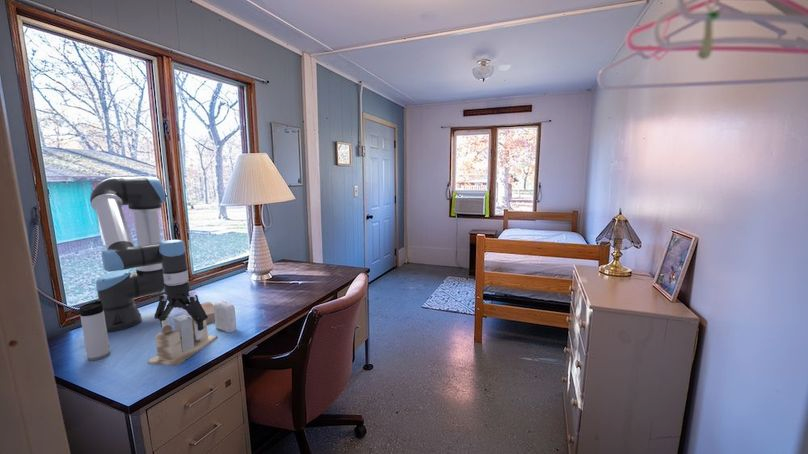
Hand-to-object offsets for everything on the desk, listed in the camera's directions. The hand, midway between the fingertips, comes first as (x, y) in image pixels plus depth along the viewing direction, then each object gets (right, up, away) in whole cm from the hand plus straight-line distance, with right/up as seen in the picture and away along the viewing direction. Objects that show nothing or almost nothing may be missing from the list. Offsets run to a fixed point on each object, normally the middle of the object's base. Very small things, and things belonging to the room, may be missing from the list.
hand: (183, 337), depth 127 cm
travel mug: (-29, -6, -3) cm, 30 cm away
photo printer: (+7, -2, +18) cm, 19 cm away
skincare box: (0, -4, +1) cm, 4 cm away
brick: (-8, -1, +31) cm, 32 cm away
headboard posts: (0, -5, +1) cm, 5 cm away
